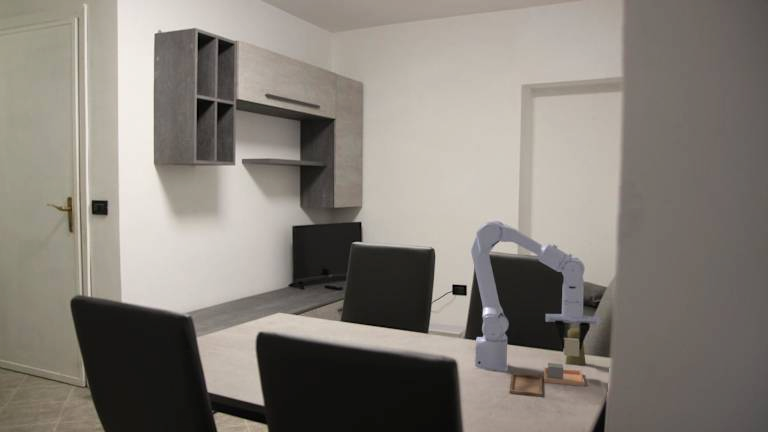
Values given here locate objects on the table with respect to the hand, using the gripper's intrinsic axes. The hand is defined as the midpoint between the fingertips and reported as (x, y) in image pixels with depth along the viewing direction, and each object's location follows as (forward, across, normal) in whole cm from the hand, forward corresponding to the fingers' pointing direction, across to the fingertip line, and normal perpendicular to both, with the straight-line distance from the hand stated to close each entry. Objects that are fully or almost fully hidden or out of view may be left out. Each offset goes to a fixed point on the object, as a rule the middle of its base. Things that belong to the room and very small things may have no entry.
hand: (571, 348), depth 159 cm
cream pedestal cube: (+2, 0, 0) cm, 2 cm away
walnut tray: (+9, -12, -12) cm, 19 cm away
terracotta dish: (+9, -2, -2) cm, 9 cm away
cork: (+9, +2, +15) cm, 18 cm away
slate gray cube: (+8, -4, -4) cm, 10 cm away
